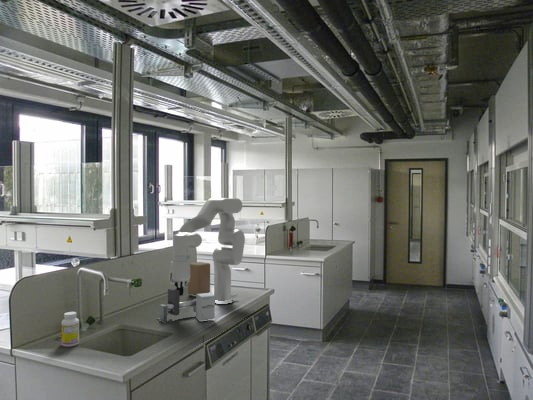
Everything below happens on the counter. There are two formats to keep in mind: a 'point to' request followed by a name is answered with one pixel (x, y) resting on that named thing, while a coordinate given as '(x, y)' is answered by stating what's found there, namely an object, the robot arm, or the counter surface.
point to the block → (199, 278)
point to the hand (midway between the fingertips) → (179, 295)
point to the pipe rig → (171, 307)
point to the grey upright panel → (174, 300)
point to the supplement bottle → (70, 330)
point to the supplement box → (205, 306)
